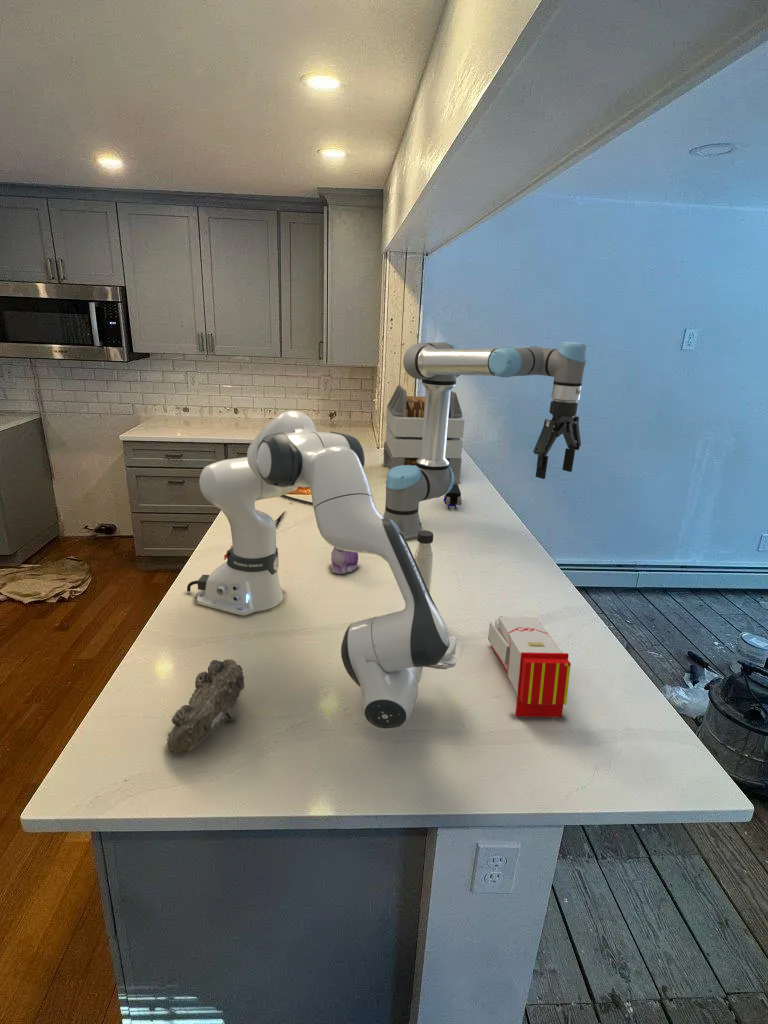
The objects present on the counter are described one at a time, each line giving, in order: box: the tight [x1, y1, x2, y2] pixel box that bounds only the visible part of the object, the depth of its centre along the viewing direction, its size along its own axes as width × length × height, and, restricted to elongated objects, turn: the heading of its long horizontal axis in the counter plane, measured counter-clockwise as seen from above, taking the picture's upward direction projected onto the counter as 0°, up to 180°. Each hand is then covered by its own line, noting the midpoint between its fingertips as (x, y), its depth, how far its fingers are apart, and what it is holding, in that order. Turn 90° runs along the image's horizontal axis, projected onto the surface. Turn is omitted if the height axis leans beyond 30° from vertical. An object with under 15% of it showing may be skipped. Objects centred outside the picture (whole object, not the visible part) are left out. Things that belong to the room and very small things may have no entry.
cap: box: [416, 529, 434, 544], centre depth 137 cm, size 4×4×2 cm
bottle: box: [414, 542, 434, 594], centre depth 141 cm, size 4×4×24 cm
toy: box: [487, 616, 572, 718], centre depth 123 cm, size 12×13×30 cm
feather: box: [274, 510, 286, 528], centre depth 212 cm, size 2×28×2 cm
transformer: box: [383, 384, 465, 484], centre depth 268 cm, size 34×33×41 cm
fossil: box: [166, 658, 245, 754], centre depth 106 cm, size 22×10×15 cm
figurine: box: [330, 547, 359, 575], centre depth 169 cm, size 9×10×15 cm
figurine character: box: [442, 483, 462, 510], centre depth 230 cm, size 7×8×15 cm
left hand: (410, 625), depth 121 cm, fingers open, 8 cm apart
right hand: (553, 474), depth 164 cm, fingers open, 13 cm apart
